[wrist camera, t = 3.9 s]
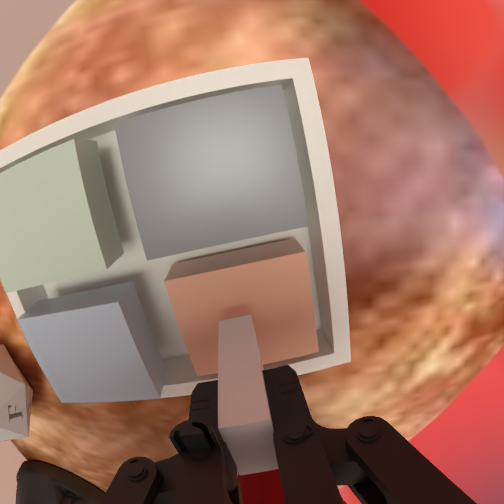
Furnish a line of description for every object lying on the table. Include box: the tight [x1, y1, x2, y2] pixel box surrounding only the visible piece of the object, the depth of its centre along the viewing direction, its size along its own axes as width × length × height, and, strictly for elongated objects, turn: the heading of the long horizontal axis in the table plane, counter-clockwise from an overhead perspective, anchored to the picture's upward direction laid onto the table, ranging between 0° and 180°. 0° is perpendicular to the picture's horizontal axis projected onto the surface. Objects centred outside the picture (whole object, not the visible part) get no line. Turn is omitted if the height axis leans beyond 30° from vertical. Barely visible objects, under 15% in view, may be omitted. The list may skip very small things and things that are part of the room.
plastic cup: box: [237, 469, 346, 504], centre depth 19 cm, size 11×11×12 cm
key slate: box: [17, 281, 167, 403], centre depth 16 cm, size 7×6×3 cm
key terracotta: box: [164, 238, 319, 376], centre depth 17 cm, size 7×6×3 cm
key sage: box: [0, 139, 124, 293], centre depth 13 cm, size 7×6×3 cm
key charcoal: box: [114, 85, 309, 261], centre depth 13 cm, size 7×6×3 cm
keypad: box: [0, 58, 351, 398], centre depth 17 cm, size 20×17×4 cm
